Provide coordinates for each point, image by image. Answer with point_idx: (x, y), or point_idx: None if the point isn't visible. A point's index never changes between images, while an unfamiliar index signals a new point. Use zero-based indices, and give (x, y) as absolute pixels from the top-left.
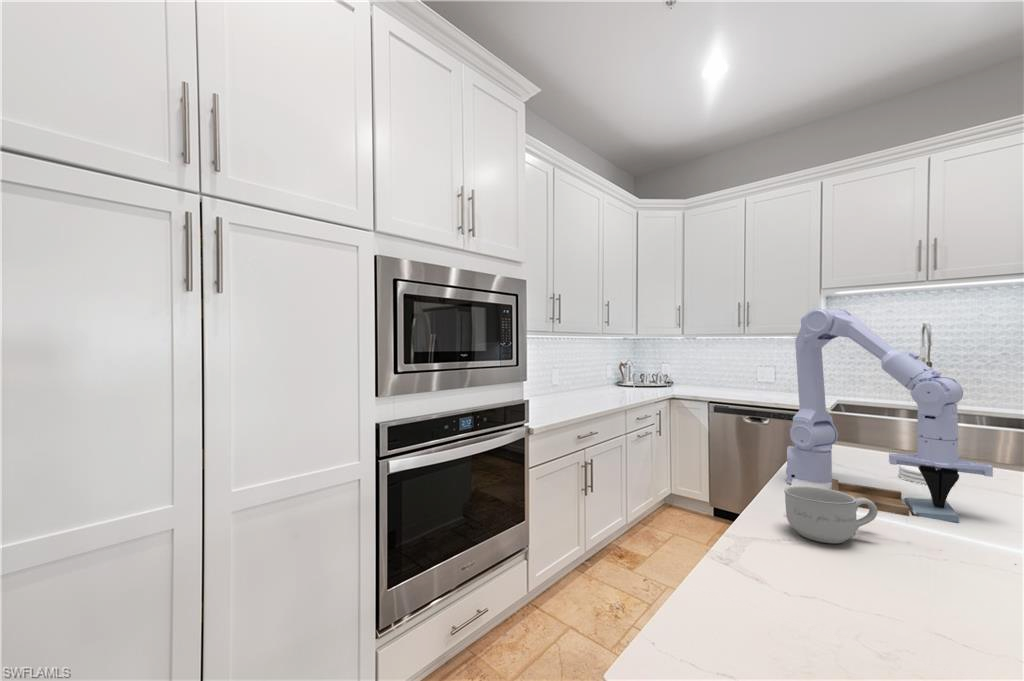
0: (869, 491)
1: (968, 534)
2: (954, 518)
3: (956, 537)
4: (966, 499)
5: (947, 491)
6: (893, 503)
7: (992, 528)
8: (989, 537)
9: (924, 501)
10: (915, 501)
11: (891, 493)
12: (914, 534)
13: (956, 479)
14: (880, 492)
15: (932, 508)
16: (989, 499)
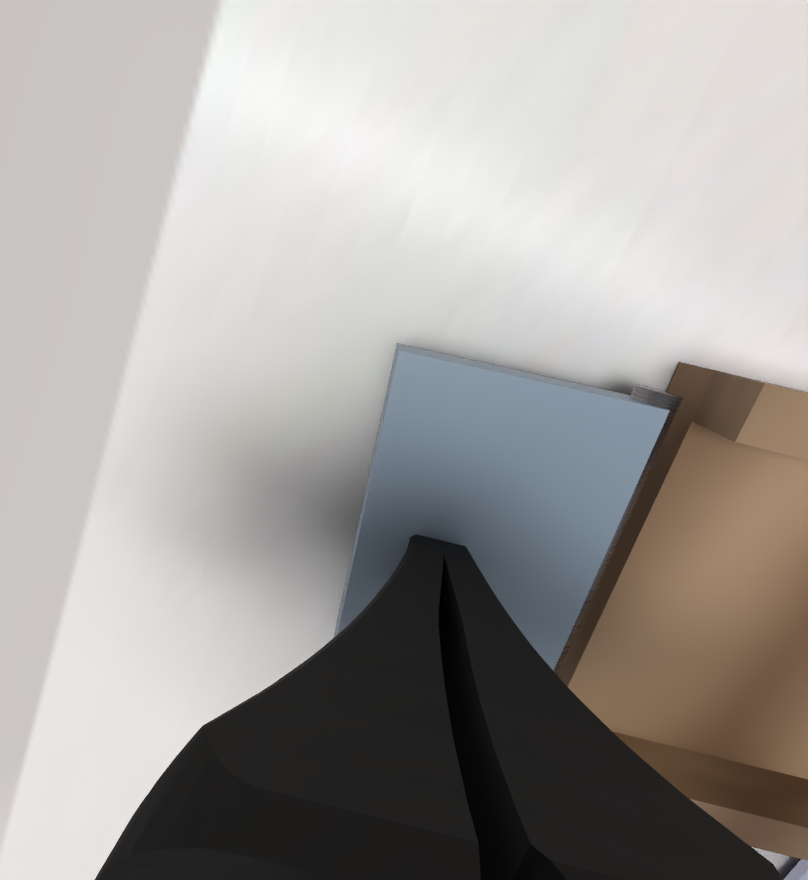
0: (738, 784)
1: (372, 294)
2: (423, 352)
3: (484, 180)
4: None
5: (383, 609)
6: (659, 630)
7: (194, 478)
8: (268, 290)
9: None
10: None
11: None
12: (794, 91)
13: (224, 732)
14: (678, 774)
15: (492, 521)
16: (79, 871)
